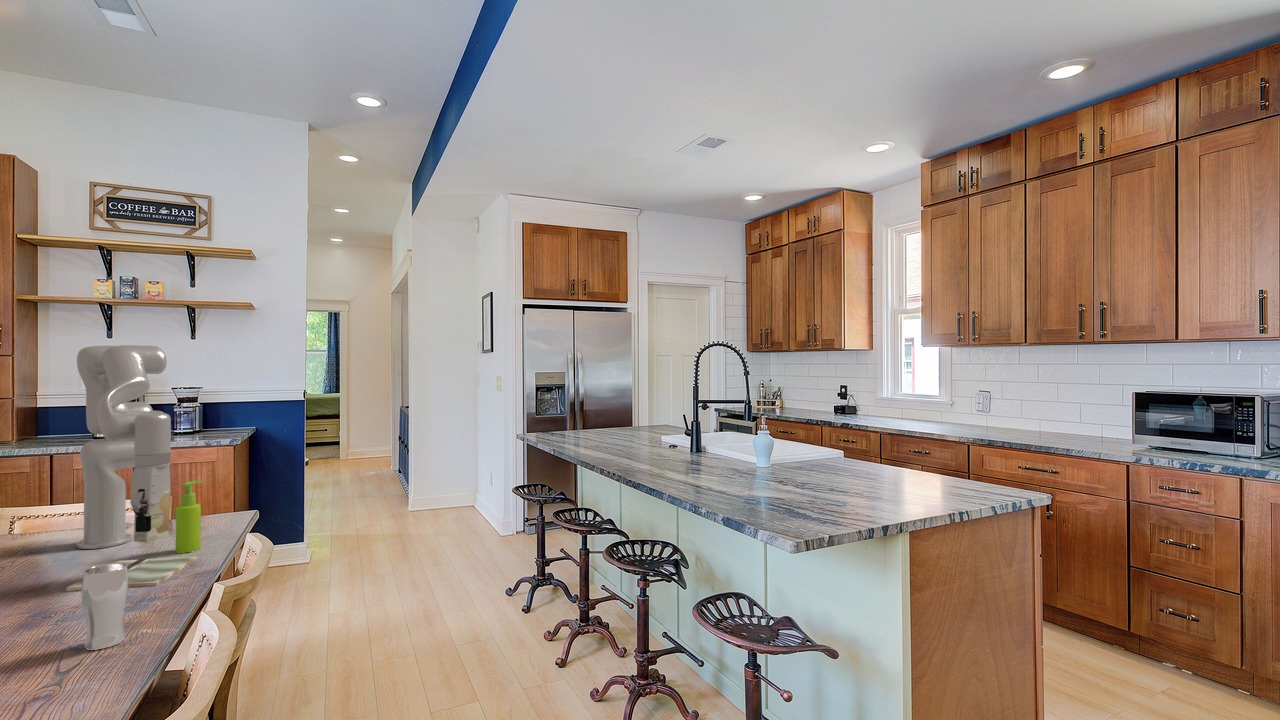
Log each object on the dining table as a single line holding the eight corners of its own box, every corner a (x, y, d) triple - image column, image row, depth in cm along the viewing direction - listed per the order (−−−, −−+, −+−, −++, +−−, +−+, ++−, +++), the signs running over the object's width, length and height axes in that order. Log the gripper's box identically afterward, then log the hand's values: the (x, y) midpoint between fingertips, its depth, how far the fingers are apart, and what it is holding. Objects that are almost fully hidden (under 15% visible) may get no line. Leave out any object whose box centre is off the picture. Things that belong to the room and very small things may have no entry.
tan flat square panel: (117, 563, 166) (117, 560, 166) (196, 559, 171) (196, 555, 171) (66, 591, 147) (66, 587, 147) (156, 585, 151) (156, 581, 151)
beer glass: (100, 636, 124) (100, 562, 124) (136, 635, 124) (137, 561, 124) (71, 652, 117) (71, 574, 117) (110, 651, 117) (110, 573, 117)
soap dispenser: (208, 547, 181) (209, 480, 181) (184, 554, 175) (185, 485, 175) (194, 545, 183) (195, 479, 183) (170, 552, 177) (171, 483, 177)
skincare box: (146, 543, 157) (147, 496, 157) (133, 542, 158) (133, 495, 158) (170, 536, 163) (170, 490, 163) (157, 535, 164) (157, 490, 164)
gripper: (154, 455, 168) (154, 519, 168) (115, 466, 151) (115, 537, 151) (185, 454, 170) (185, 518, 170) (150, 465, 153) (149, 535, 153)
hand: (152, 526), depth 160 cm, fingers closed on skincare box, 7 cm apart
